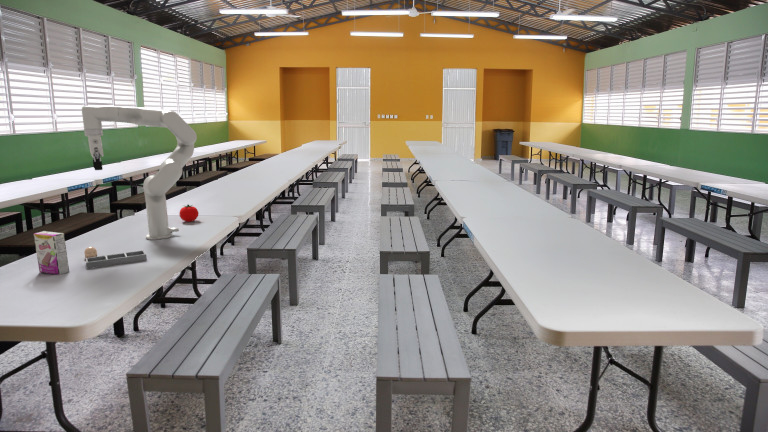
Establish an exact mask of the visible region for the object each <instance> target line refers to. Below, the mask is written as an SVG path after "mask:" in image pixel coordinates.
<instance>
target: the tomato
mask: <svg viewBox="0 0 768 432" xmlns="http://www.w3.org/2000/svg"><path fill="white" fill-rule="evenodd" d="M182 206H183V207H181V208H180V210H179V214H178V215H179V217H180V219H181V220H182V221H184V222H186V223H189V222H190V223H191V221H192V222H194V221H196V219H198V217H199V210H198V209H197V207H195V206H194V205H193V204H191V205H190V204H186V205H182Z"/></svg>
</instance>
